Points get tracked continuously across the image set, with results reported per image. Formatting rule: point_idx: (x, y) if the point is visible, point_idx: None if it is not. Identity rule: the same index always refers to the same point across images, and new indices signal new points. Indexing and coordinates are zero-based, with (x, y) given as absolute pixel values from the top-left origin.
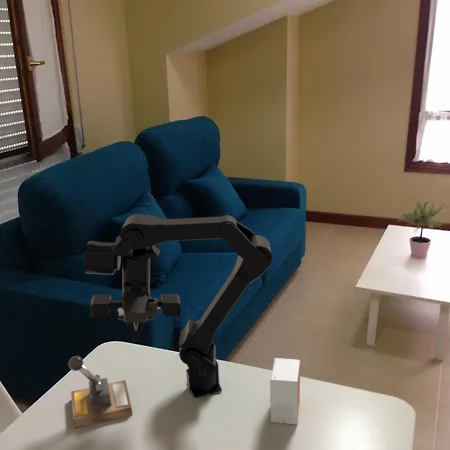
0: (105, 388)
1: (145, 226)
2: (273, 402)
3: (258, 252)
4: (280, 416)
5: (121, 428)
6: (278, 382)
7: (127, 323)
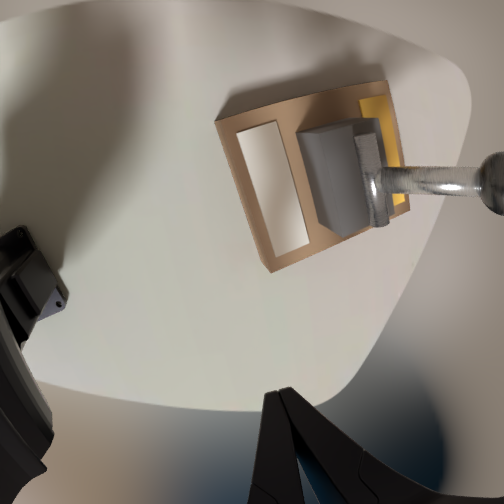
0: (340, 170)
1: None
2: None
3: None
4: None
5: (239, 60)
6: None
7: (416, 491)
